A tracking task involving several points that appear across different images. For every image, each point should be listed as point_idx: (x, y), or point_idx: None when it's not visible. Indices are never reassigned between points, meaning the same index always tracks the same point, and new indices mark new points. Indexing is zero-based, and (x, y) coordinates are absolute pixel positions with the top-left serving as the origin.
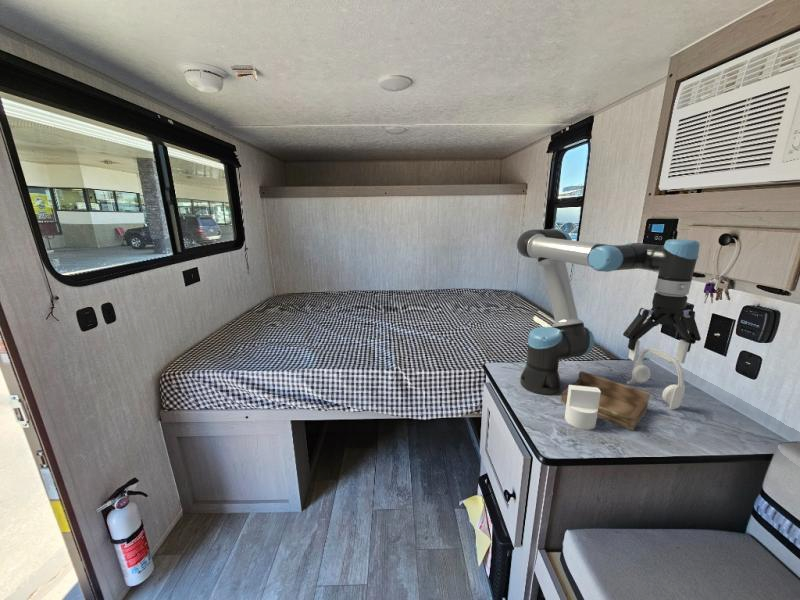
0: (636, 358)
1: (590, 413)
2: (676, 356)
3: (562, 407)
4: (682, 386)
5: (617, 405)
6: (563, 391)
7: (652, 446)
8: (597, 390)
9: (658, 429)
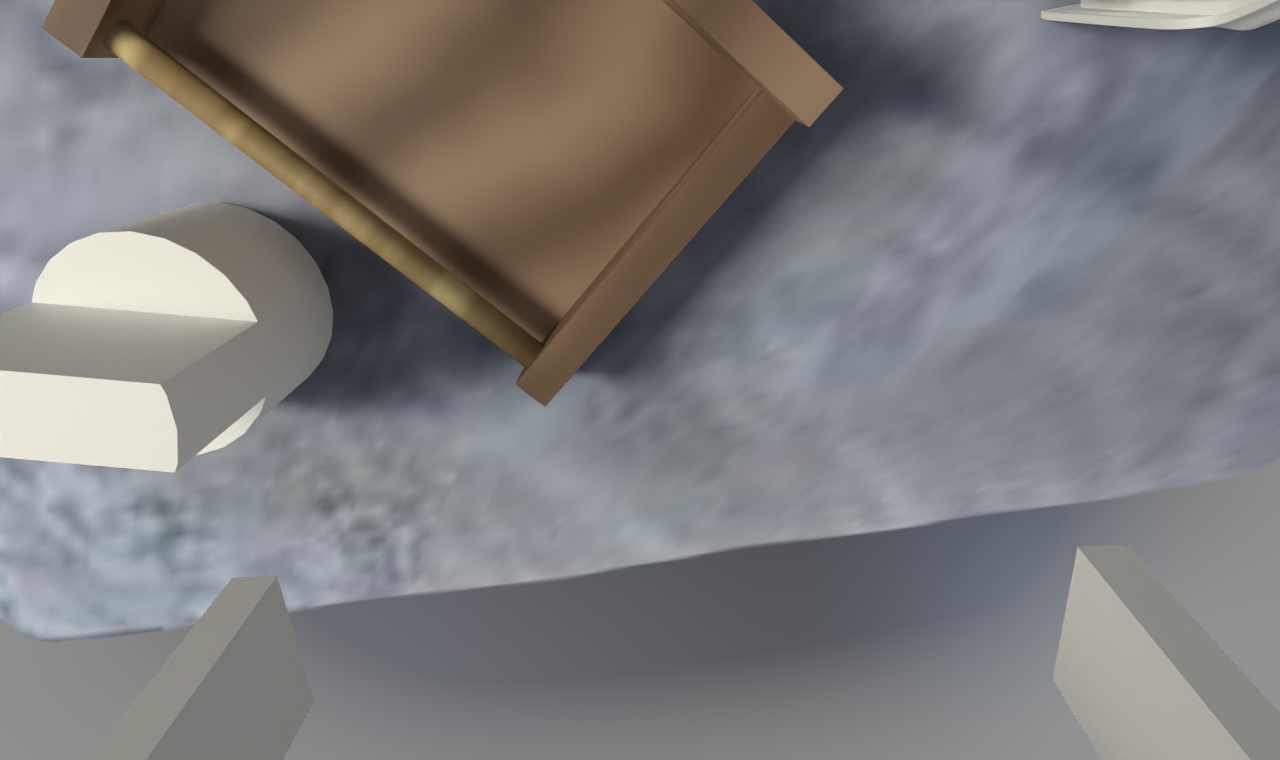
0: (288, 746)
1: (201, 451)
2: (1110, 604)
3: (123, 129)
4: (1257, 25)
5: (572, 66)
6: (52, 12)
7: (602, 502)
8: (150, 442)
9: (744, 331)
